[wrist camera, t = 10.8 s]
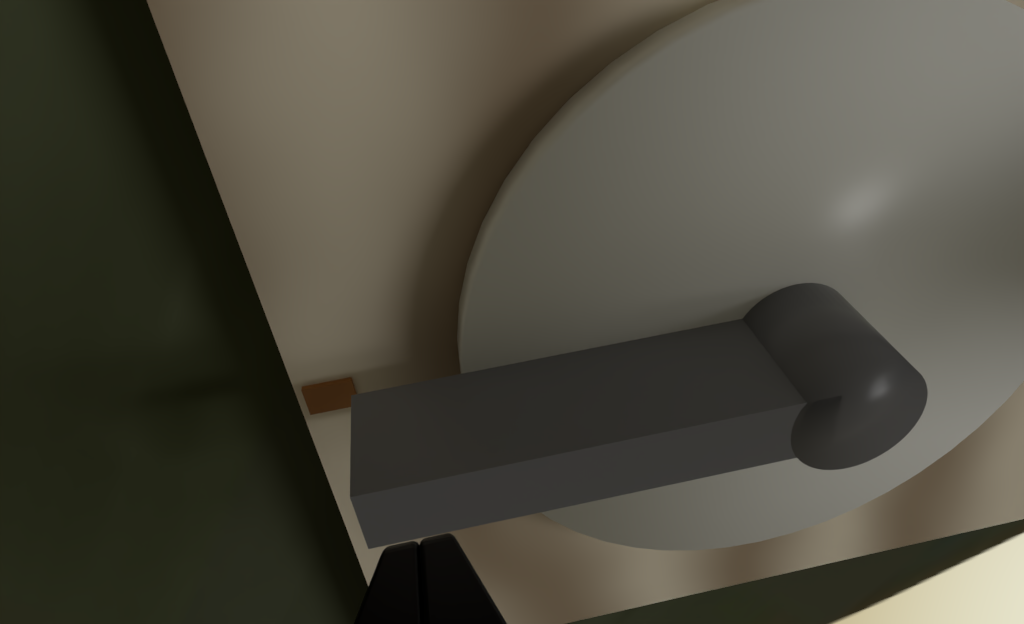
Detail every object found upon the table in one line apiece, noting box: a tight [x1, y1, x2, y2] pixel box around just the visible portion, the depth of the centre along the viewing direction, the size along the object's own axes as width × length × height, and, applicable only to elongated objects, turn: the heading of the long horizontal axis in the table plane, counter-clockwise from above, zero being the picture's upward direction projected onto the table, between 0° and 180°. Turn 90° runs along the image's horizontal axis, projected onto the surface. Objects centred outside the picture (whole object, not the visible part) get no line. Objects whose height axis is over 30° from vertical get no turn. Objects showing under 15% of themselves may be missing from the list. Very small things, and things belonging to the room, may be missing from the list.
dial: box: [350, 0, 1024, 550], centre depth 17 cm, size 18×16×4 cm
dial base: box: [147, 0, 1024, 624], centre depth 19 cm, size 24×24×2 cm
